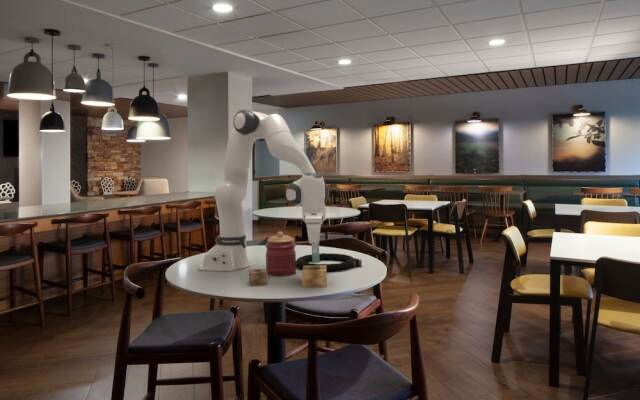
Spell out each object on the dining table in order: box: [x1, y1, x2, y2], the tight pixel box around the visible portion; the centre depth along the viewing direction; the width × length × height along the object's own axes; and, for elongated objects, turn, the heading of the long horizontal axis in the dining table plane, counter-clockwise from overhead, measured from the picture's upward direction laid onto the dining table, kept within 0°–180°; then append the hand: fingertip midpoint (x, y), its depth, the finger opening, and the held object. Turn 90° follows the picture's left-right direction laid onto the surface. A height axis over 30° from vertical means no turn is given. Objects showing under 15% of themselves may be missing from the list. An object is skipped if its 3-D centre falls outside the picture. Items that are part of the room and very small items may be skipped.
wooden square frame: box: [301, 265, 328, 288], centre depth 177 cm, size 9×9×6 cm
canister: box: [264, 230, 297, 277], centre depth 195 cm, size 13×13×18 cm
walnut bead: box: [248, 268, 268, 287], centre depth 178 cm, size 6×6×5 cm
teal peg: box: [311, 242, 320, 264], centre depth 176 cm, size 3×3×11 cm
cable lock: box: [296, 253, 362, 273], centre depth 207 cm, size 28×4×30 cm
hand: (315, 251), depth 176 cm, fingers closed on teal peg, 3 cm apart
